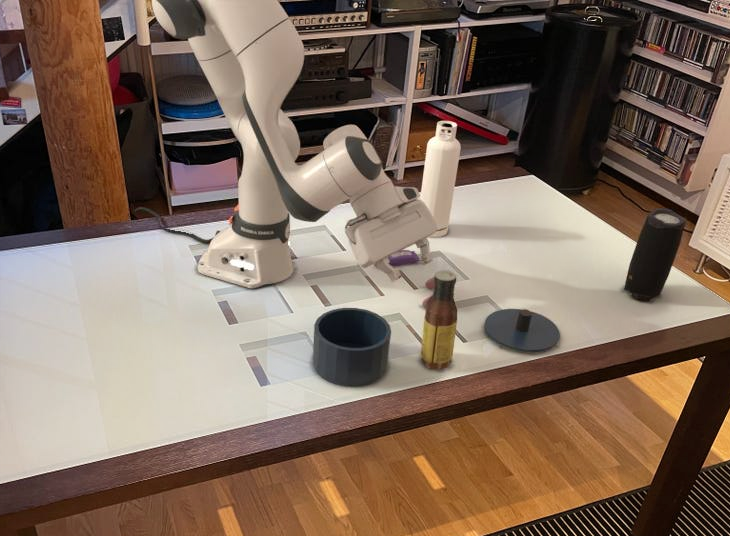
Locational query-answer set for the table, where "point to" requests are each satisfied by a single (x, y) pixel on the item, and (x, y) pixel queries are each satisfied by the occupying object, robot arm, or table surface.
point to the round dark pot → (351, 346)
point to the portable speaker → (654, 254)
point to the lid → (522, 330)
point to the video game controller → (429, 285)
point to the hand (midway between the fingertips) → (413, 271)
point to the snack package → (403, 258)
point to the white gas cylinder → (440, 175)
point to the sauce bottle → (440, 323)
